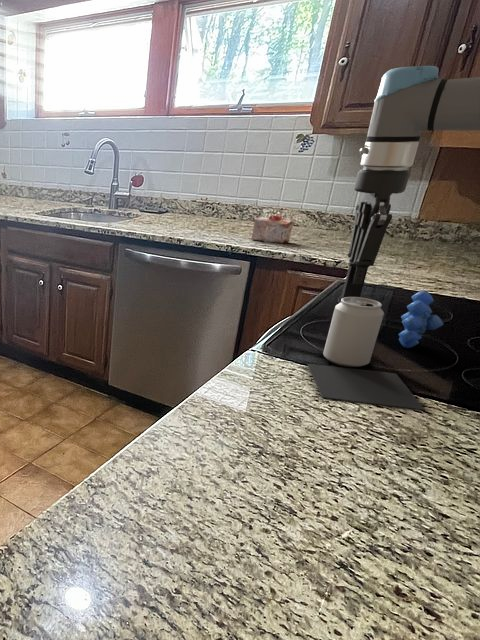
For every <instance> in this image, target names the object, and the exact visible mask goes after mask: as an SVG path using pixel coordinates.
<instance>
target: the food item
mask: <svg viewBox="0 0 480 640" xmlns="http://www.w3.org/2000/svg"><path fill="white" fill-rule="evenodd" d="M253 222H254V223H253V228H252V233H251V240H252V241H260V242H264V243H277V244H286V243H288V242H290V241H291V234H292V230H293V227H294V225H295V221H293V220H287V219H283V217H282V216H280V215H274V214H273V215H271V216H269V217H258V218H255V219H254V221H253Z"/></svg>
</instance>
